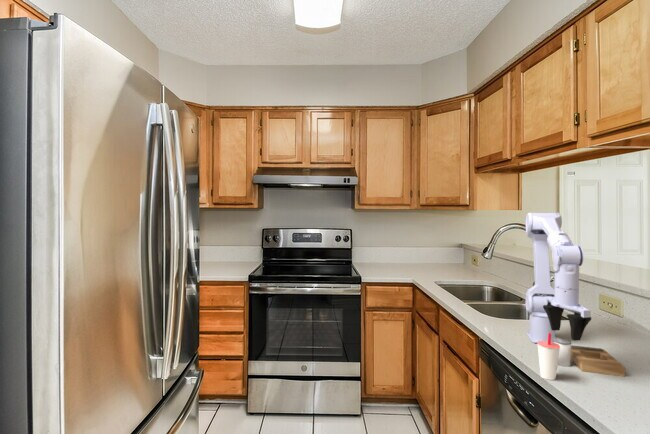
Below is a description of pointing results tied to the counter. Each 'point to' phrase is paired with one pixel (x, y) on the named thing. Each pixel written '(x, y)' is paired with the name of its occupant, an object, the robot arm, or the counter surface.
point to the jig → (596, 361)
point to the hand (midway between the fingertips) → (565, 334)
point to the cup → (548, 358)
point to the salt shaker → (564, 351)
